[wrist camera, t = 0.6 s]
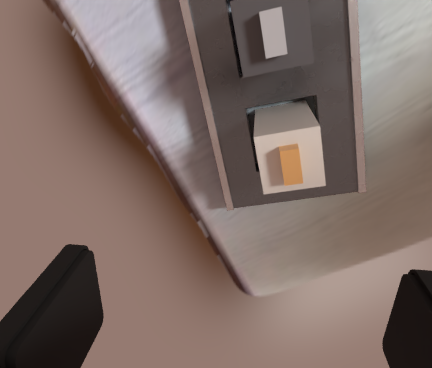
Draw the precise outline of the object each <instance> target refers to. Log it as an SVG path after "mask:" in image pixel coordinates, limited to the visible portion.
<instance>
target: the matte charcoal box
mask: <svg viewBox="0 0 432 368" xmlns="http://www.w3.org/2000/svg"><path fill="white" fill-rule="evenodd" d="M230 6H231V12H232V17H233V23H234V29H235V34H236V40H237V45H238V51H239V57H240V62H241V68H242V74H243V78H245V77H250V76H255V75H259V74H264V73H269V72H274V71H279V70H283V69H288V68H293V67H298V66H303V65H308V64H312V63H314V55H313V45H312V34H311V24H310V14H309V3H308V0H233V1H230Z"/></svg>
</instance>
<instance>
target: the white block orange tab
mask: <svg viewBox="0 0 432 368" xmlns="http://www.w3.org/2000/svg"><path fill="white" fill-rule="evenodd" d="M254 143H255V148H256V154H257V160H258V165H259V171H260V177H261V182H262V188H263V193H264V194H271V193H278V192H285V191H292V190H299V189H307V188H314V187H321V186H326V182H325V172H324V161H323V151H322V141H321V130H320V125H319V123H318V121H317V120H316V118H315V116H314V114H313V113H312V111H311V109H310V108H309V106H308V104H307V102H306V101H305V100H303V101H298V102H293V103H287V104H282V105H277V106H271V107H266V108H261V109H255V122H254Z"/></svg>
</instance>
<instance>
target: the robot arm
mask: <svg viewBox="0 0 432 368" xmlns="http://www.w3.org/2000/svg"><path fill="white" fill-rule="evenodd" d="M102 323H103V309H102V303H101V296H100V290H99V284H98V278H97V272H96V265H95V259H94V254H93V252H92V251H89V250H88V247H87V246H84V245H72V244H69V245H66V246H65V247H64V248H63V249H62V250H61V252H60V253H59V254H58V255H57V256H56V257H55V259H54V260H53V261H52V262H51V263H50V264H49V266H48V267H47V268H46V269H45V271H43V273H42V274H41V275H40V276H39V277H38V278H37V280H36V281H35V282H34V283H33V284H32V285H31V287H30V288H29V289H28V290H27V291H26V292H25V293H24V295H23V296H22V297H21V298H20V299H19V300H18V302H17V303H16V304H15V305H14V306H13V307H12V308H11V310H10V311H9V312H8V313H7V314H6V315H5V317H4V318H3V319H2V320H1V321H0V368H80V367H81V366H82V364H83V362H84V359H85V358H86V356H87V353H88V352H89V350H90V348H91V346H92V344H93V342H94V340H95V338H96V336H97V334H98V332H99V330H100V328H101V326H102ZM383 351H384V354H385V356H386V359H387V361H388V364H389V367H390V368H432V271H427V270H410V272H409V273H408V274H404V275H403V276H402V278H401V282H400V285H399V288H398V292H397V295H396V298H395V301H394V305H393V308H392V311H391V315H390V318H389V321H388V324H387V328H386V331H385V334H384V338H383Z"/></svg>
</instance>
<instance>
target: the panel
mask: <svg viewBox="0 0 432 368" xmlns="http://www.w3.org/2000/svg"><path fill="white" fill-rule="evenodd" d="M179 2H180V7H181V11H182V15H183V20H184V24H185V28H186V33H187V37H188V42H189V46H190V50H191V55H192V59H193V63H194V68H195V72H196V76H197V81H198V85H199V90H200V94H201V98H202V103H203V107H204V111H205V116H206V120H207V124H208V129H209V133H210V138H211V142H212V146H213V151H214V155H215V159H216V164H217V168H218V172H219V177H220V181H221V186H222V190H223V194H224V199H225V203H226V207H227V211H228V210H234V208H238V207H246V206H253V205H261V204H268V203H276V202H283V201H291V200H298V199H305V198H313V197H320V196H328V195H335V194H343V193H350V192H358V193H363V192H366V177H365V155H364V134H363V112H362V90H361V69H360V47H359V25H358V4H357V0H308V3H309V14H310V24H311V34H312V45H313V55H314V63H312V64H308V65H303V66H298V67H293V68H288V69H283V70H279V71H274V72H269V73H264V74H259V75H255V76H250V77H245V78H243V74H240V68H239V63H238V57H237V52H236V46H235V41H234V35H233V30H232V24H231V18H230V13H229V7H228V2H227V0H179ZM313 95H314V105H315V115H316V120H317V121H318V123H319V125H320V130H321V141H322V151H323V161H324V172H325V182H326V186H321V187H314V188H307V189H299V190H292V191H285V192H278V193H271V194H264V193H263V188H262V182H261V177H260V171H259V165H258V163H256V158H255V152H254V146H253V141H252V135H251V130H250V124H249V119H248V113H247V108H249V107H255V106H260V105H265V104H270V103H276V102H281V101H286V100H291V99H297V98H302V97H307V96H313Z"/></svg>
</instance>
